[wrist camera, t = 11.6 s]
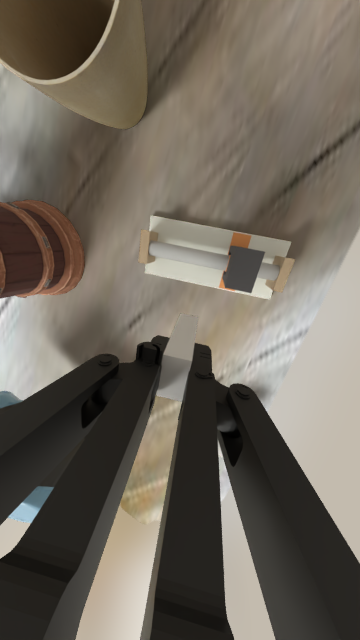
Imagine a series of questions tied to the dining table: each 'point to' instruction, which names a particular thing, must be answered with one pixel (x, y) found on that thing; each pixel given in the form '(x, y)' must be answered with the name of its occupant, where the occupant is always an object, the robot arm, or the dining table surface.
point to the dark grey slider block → (242, 268)
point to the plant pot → (80, 54)
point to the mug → (37, 250)
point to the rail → (209, 245)
